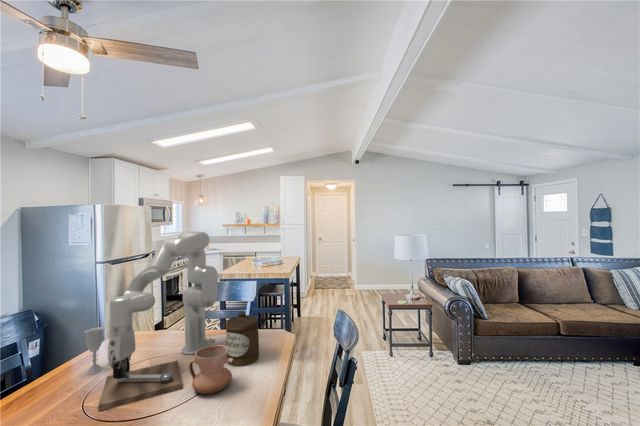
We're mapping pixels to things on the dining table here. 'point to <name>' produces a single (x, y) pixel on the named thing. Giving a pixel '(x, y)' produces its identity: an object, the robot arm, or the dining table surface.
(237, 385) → the dining table surface
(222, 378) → the ceramic jug
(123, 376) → the lever
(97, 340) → the chalice
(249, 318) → the wooden container
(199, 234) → the robot arm
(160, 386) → the lever board
